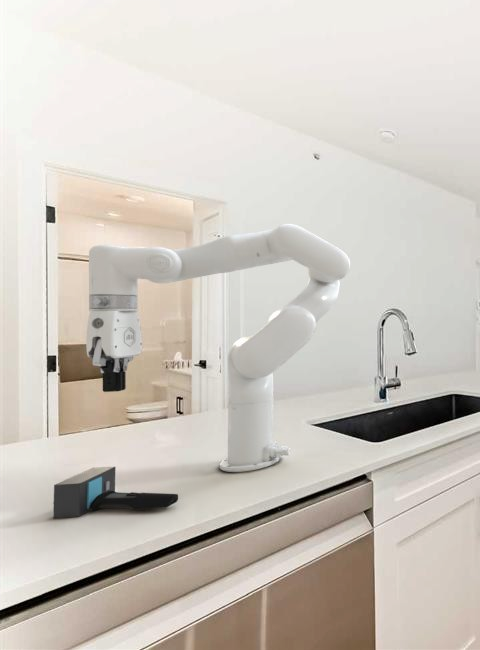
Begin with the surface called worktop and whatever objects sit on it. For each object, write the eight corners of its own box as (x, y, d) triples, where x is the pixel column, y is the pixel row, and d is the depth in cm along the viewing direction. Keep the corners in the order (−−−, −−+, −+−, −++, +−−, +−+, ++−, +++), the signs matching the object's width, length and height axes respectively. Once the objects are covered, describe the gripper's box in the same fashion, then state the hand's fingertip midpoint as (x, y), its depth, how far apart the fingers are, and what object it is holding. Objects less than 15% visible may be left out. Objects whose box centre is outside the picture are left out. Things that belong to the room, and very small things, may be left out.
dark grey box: (117, 466, 86) (81, 483, 78) (116, 496, 86) (80, 516, 77) (92, 467, 86) (53, 484, 77) (92, 497, 85) (53, 518, 77)
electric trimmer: (166, 515, 78) (167, 497, 78) (86, 512, 79) (87, 494, 79) (183, 506, 82) (184, 489, 82) (106, 503, 83) (107, 486, 83)
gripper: (110, 303, 84) (110, 396, 84) (155, 305, 98) (155, 384, 98) (64, 303, 82) (64, 398, 82) (116, 305, 97) (117, 386, 96)
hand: (114, 390), depth 90 cm, fingers closed
